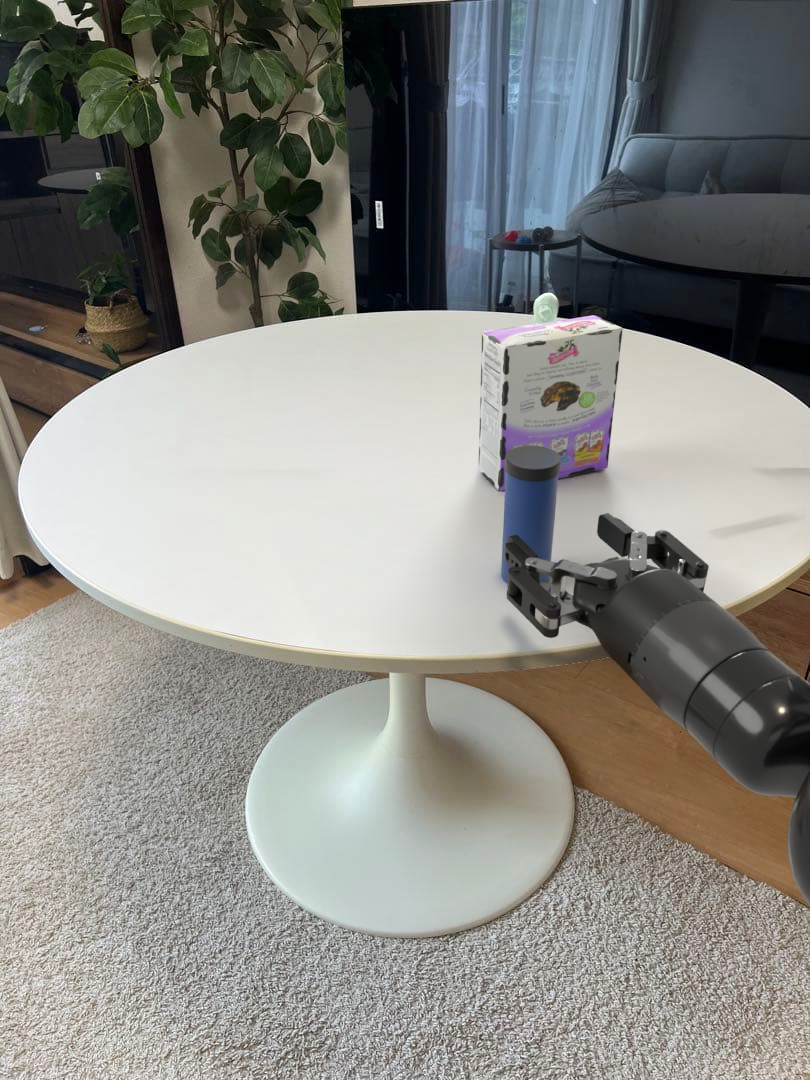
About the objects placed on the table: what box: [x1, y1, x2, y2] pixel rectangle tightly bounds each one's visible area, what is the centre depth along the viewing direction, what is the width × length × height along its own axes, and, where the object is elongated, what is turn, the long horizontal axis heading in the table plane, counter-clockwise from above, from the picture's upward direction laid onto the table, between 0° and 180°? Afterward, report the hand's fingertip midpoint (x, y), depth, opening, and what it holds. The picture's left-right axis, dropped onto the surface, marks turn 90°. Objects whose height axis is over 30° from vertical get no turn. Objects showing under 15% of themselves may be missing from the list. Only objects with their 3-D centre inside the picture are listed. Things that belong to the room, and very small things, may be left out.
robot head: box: [533, 292, 560, 324], centre depth 132 cm, size 8×4×7 cm, turn 178°
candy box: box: [477, 314, 624, 492], centre depth 86 cm, size 14×6×16 cm, turn 110°
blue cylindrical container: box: [500, 446, 561, 585], centre depth 69 cm, size 5×5×12 cm
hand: (556, 533), depth 65 cm, fingers open, 8 cm apart
